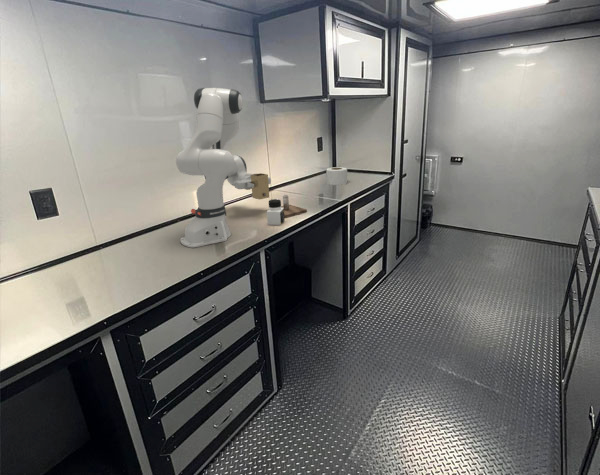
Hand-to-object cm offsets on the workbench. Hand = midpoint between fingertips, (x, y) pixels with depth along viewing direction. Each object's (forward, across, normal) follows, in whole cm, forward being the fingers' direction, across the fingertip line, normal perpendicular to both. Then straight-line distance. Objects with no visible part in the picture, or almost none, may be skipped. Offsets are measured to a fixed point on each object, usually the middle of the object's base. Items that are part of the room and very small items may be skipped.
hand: (260, 184), depth 178 cm
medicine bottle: (+14, -2, +18) cm, 23 cm away
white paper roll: (-31, +88, +16) cm, 94 cm away
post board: (+3, +14, +17) cm, 22 cm away
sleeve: (-1, 0, +7) cm, 7 cm away
